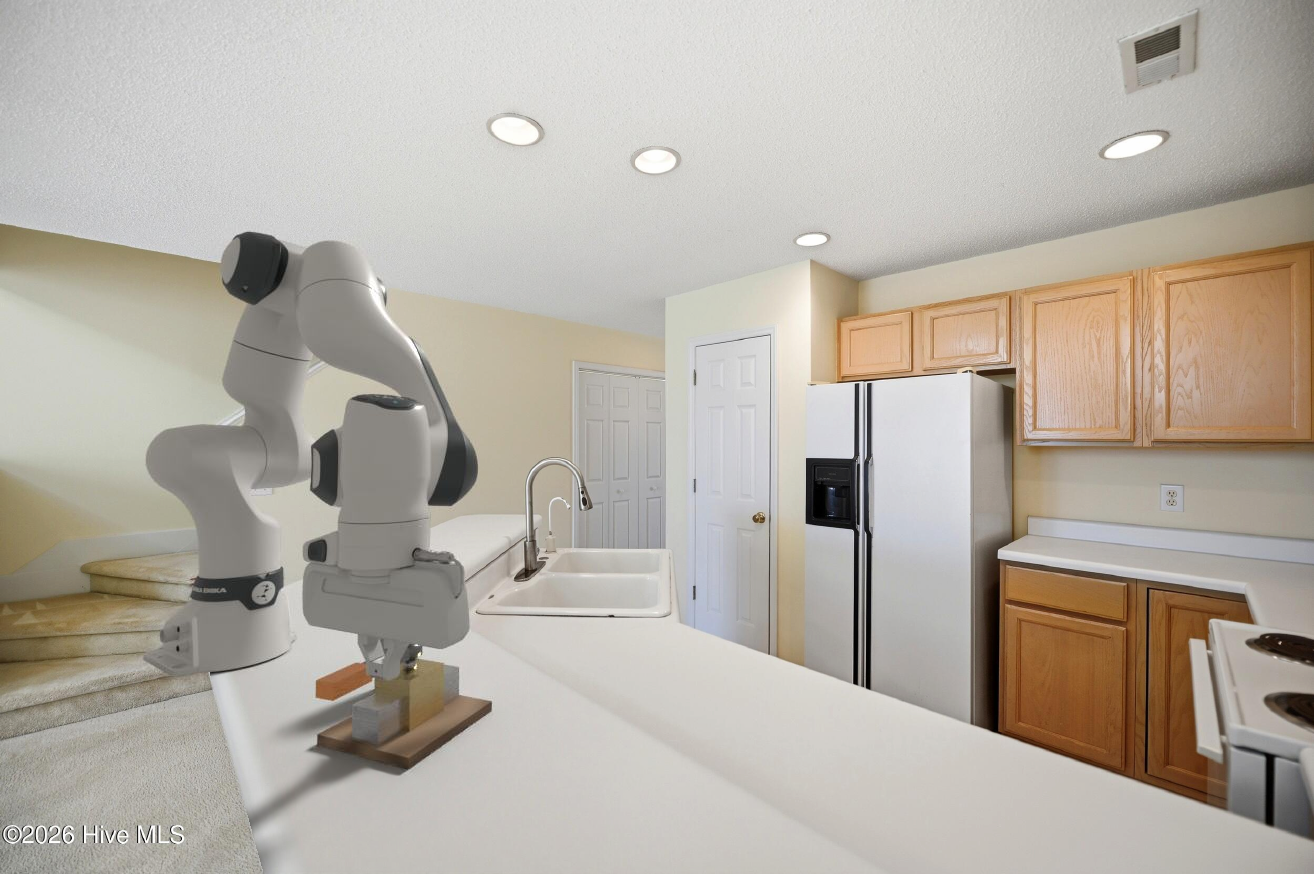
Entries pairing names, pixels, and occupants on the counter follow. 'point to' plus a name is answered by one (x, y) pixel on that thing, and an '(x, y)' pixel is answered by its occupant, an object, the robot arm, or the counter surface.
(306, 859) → the counter surface
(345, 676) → the valve lever
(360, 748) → the base board
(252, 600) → the robot arm
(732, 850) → the counter surface
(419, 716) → the valve body
